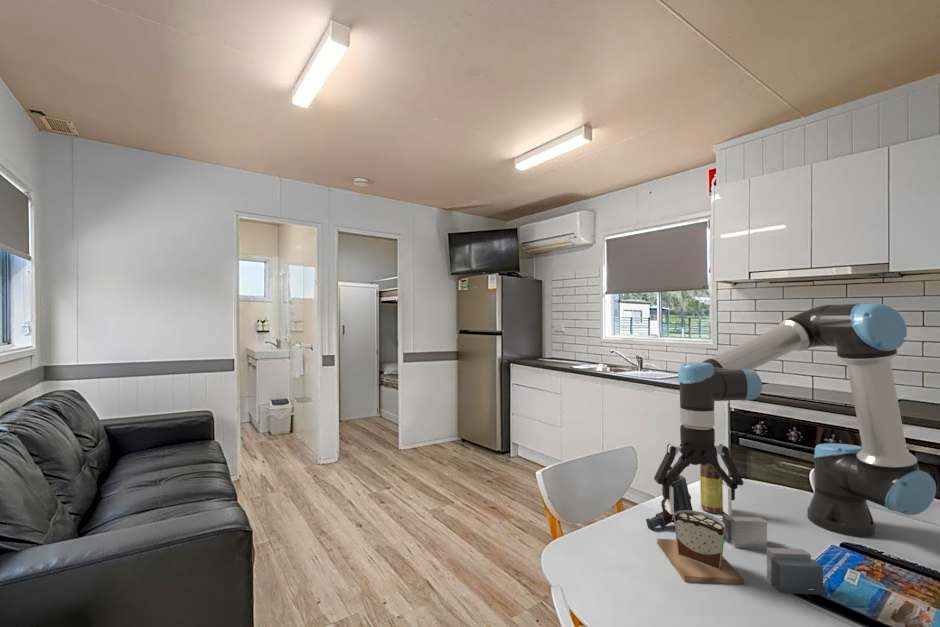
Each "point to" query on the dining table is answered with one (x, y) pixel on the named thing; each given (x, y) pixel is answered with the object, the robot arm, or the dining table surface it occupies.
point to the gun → (680, 504)
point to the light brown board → (698, 567)
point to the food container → (700, 537)
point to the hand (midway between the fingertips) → (698, 512)
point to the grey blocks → (776, 557)
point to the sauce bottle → (711, 488)
